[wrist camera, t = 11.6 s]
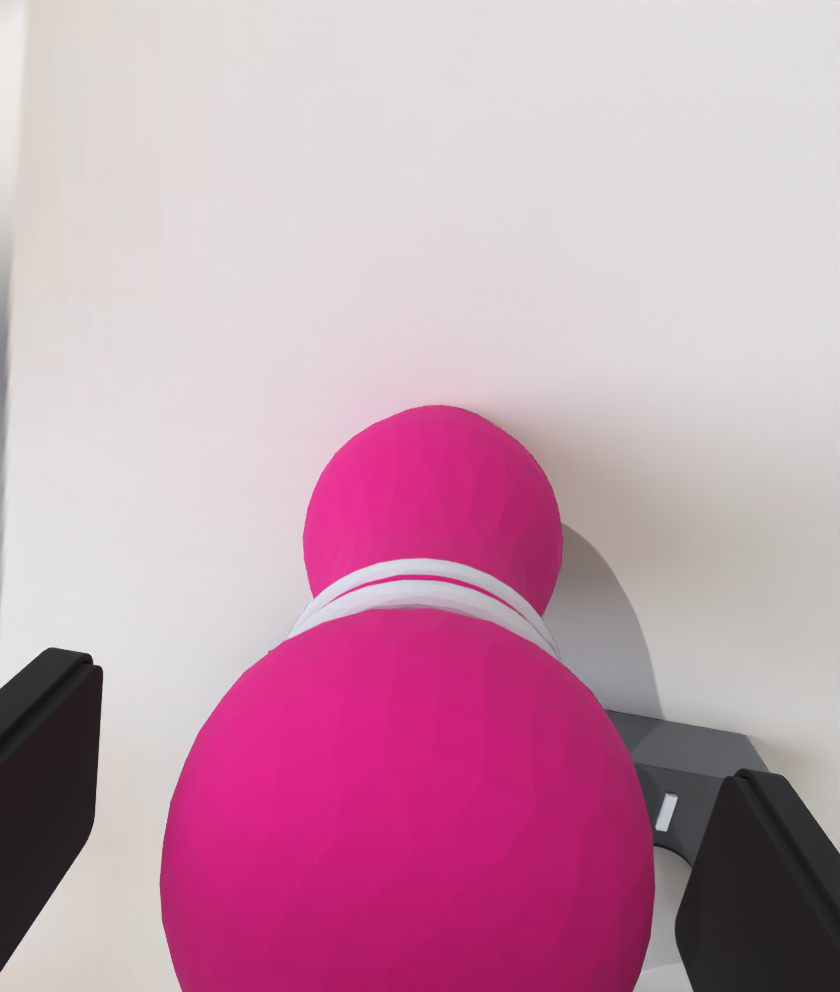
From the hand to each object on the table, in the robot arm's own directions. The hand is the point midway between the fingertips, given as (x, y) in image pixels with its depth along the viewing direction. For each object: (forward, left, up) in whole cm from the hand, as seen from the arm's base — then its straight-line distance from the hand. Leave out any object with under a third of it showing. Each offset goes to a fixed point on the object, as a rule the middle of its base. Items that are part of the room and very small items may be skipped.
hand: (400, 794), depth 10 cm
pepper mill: (0, 0, -15) cm, 15 cm away
